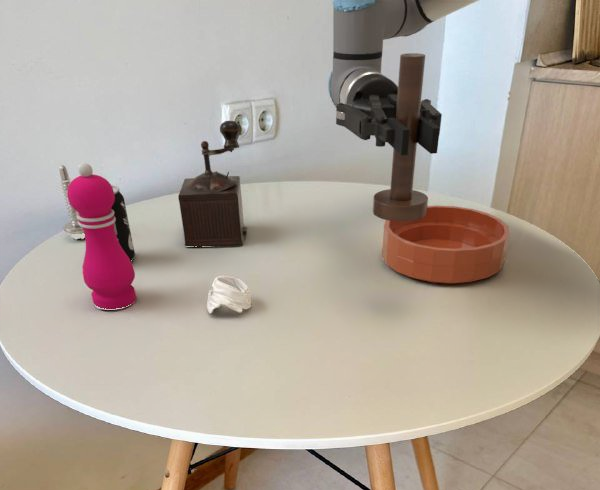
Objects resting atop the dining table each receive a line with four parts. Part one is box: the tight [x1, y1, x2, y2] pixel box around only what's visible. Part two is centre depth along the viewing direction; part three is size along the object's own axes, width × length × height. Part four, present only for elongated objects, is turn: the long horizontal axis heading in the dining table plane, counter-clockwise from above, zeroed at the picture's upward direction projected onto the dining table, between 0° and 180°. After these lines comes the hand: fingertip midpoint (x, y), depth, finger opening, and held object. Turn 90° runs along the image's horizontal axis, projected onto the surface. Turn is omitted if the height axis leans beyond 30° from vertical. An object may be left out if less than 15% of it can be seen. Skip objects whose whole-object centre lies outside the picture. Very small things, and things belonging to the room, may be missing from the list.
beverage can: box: [111, 184, 136, 262], centre depth 97 cm, size 7×7×12 cm
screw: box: [58, 164, 84, 235], centre depth 106 cm, size 13×5×5 cm
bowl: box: [381, 205, 511, 284], centre depth 97 cm, size 20×20×6 cm
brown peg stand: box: [372, 52, 429, 222], centre depth 72 cm, size 7×7×18 cm
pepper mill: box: [67, 162, 137, 309], centre depth 83 cm, size 7×7×20 cm
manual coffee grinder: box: [178, 120, 248, 248], centre depth 106 cm, size 16×11×18 cm
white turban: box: [206, 275, 252, 315], centre depth 86 cm, size 8×7×5 cm
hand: (420, 141), depth 67 cm, fingers closed on brown peg stand, 3 cm apart
